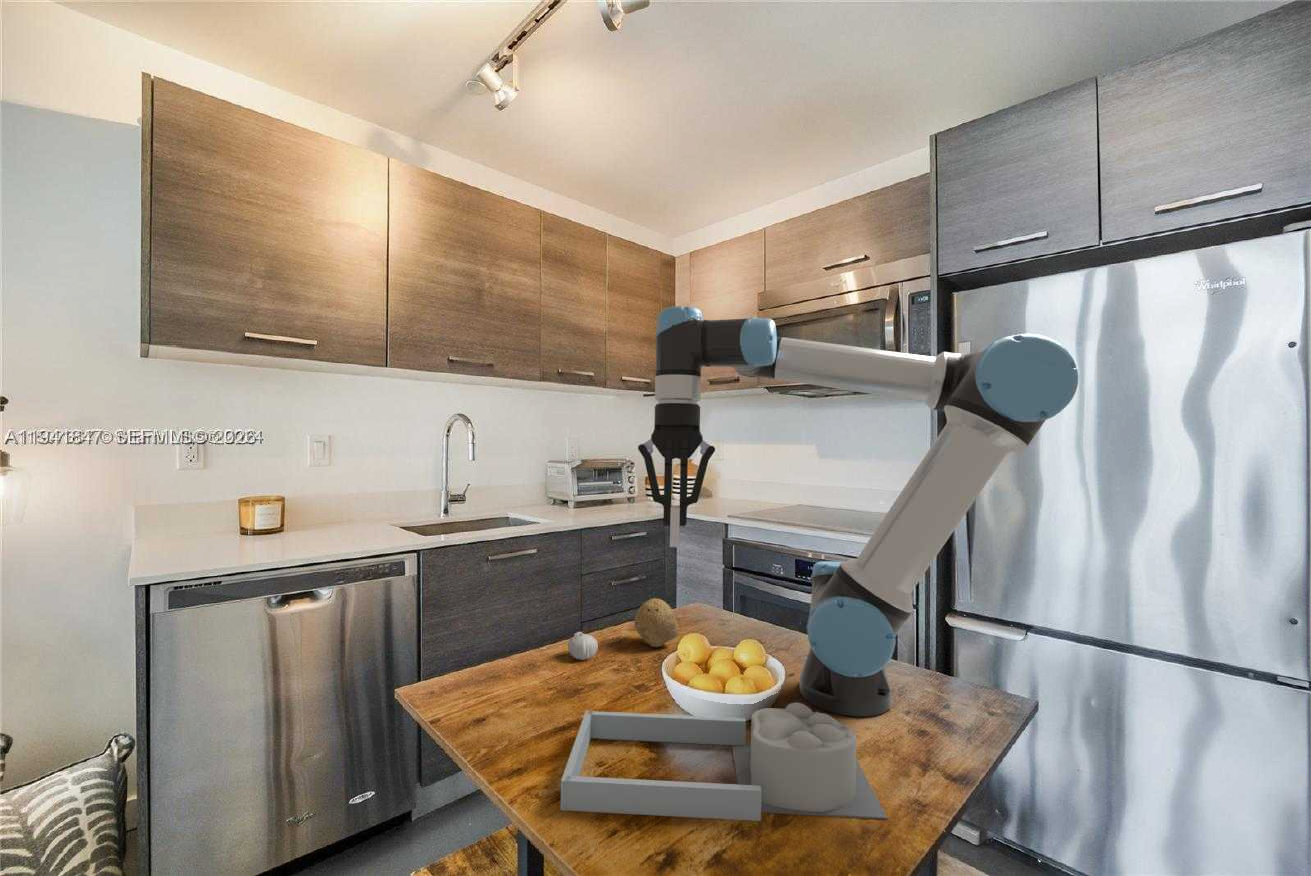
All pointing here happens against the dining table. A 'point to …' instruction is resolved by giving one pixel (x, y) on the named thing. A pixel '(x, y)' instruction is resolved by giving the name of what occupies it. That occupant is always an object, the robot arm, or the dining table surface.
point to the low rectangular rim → (655, 793)
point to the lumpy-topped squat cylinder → (802, 759)
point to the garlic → (582, 646)
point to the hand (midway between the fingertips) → (674, 545)
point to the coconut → (656, 622)
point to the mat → (859, 807)
